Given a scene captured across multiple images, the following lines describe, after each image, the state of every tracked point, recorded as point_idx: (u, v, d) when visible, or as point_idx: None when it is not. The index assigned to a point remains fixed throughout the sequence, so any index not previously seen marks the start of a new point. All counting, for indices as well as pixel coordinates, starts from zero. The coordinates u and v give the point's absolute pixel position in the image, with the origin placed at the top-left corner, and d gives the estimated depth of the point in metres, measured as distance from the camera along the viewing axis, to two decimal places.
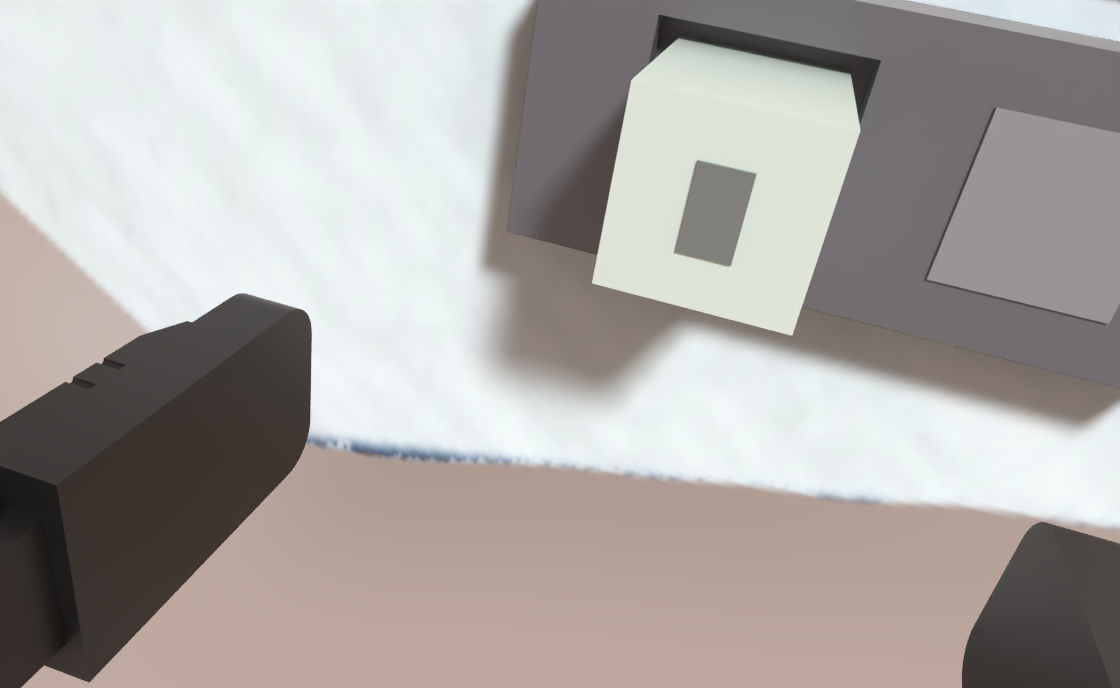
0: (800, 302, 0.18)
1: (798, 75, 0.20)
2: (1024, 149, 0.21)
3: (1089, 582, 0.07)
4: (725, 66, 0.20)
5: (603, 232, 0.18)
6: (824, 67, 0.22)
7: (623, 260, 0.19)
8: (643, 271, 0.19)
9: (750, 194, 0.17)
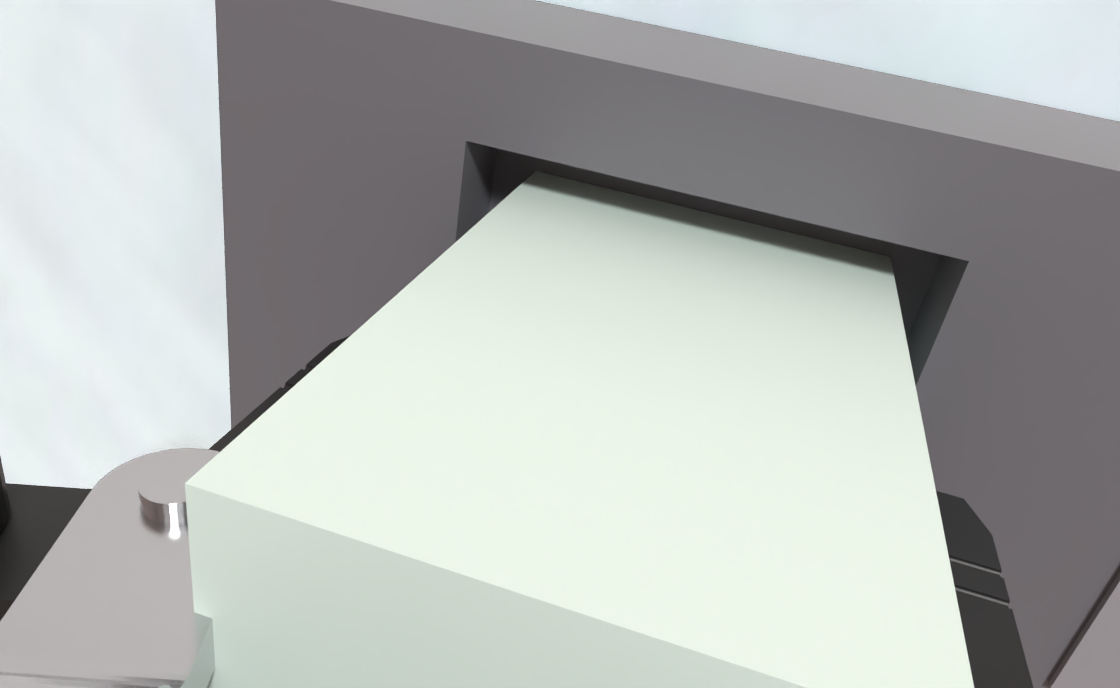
0: None
1: (773, 309, 0.08)
2: None
3: None
4: (588, 301, 0.08)
5: None
6: (835, 252, 0.10)
7: None
8: None
9: None
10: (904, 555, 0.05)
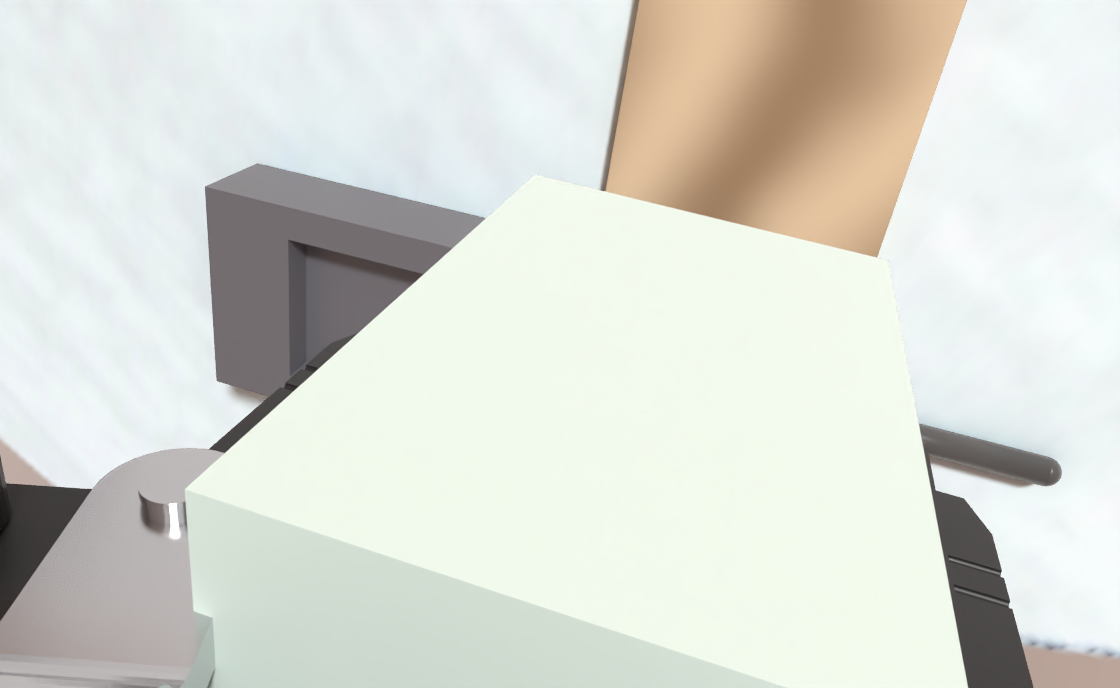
0: None
1: (771, 313, 0.08)
2: None
3: None
4: (587, 305, 0.08)
5: None
6: (833, 256, 0.10)
7: None
8: None
9: None
10: (900, 560, 0.05)
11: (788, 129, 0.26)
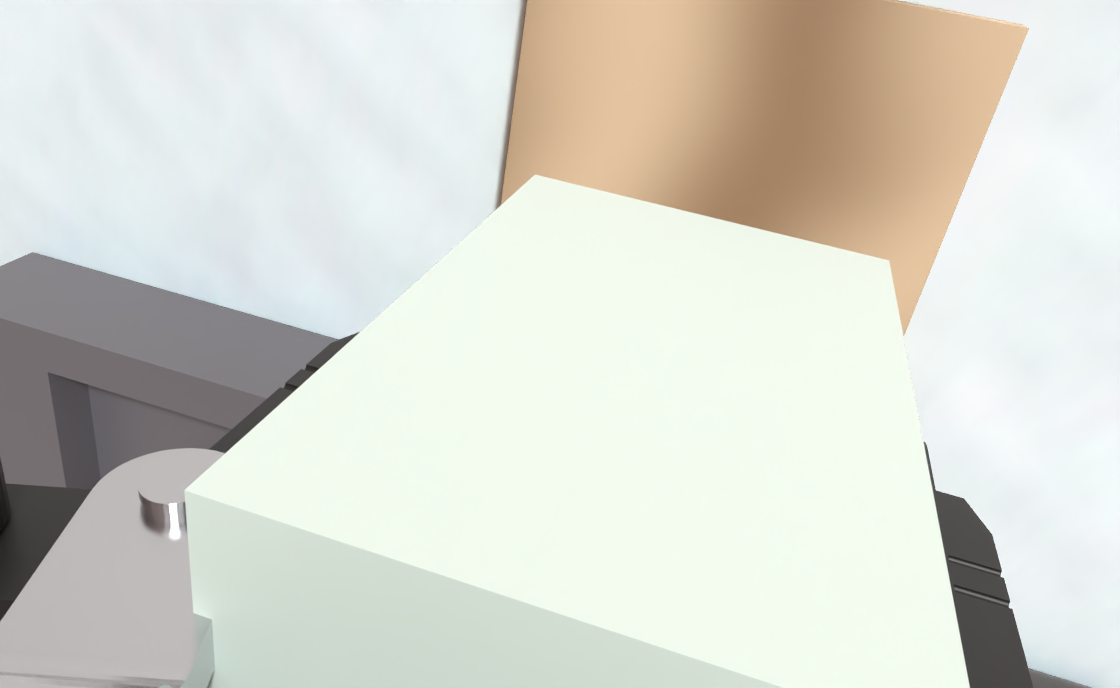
0: None
1: (772, 313, 0.08)
2: None
3: None
4: (587, 305, 0.08)
5: None
6: (833, 256, 0.10)
7: None
8: None
9: None
10: (902, 561, 0.05)
11: None
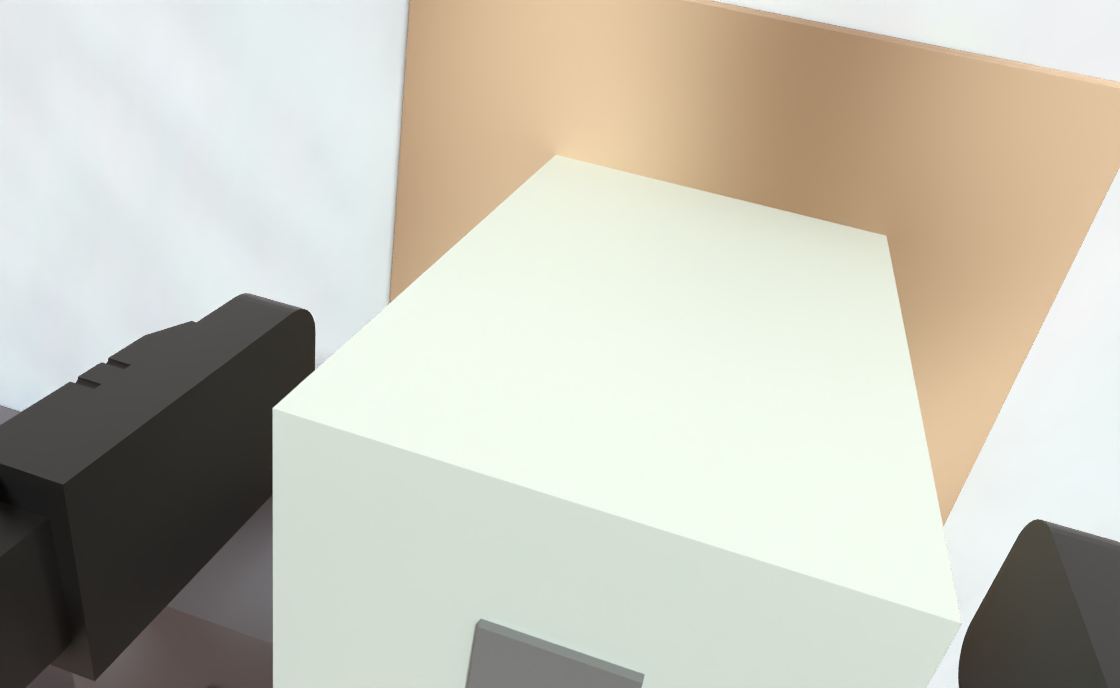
0: None
1: (779, 278, 0.09)
2: None
3: (1084, 579, 0.07)
4: (610, 268, 0.09)
5: None
6: (835, 231, 0.11)
7: None
8: None
9: None
10: (896, 480, 0.06)
11: None
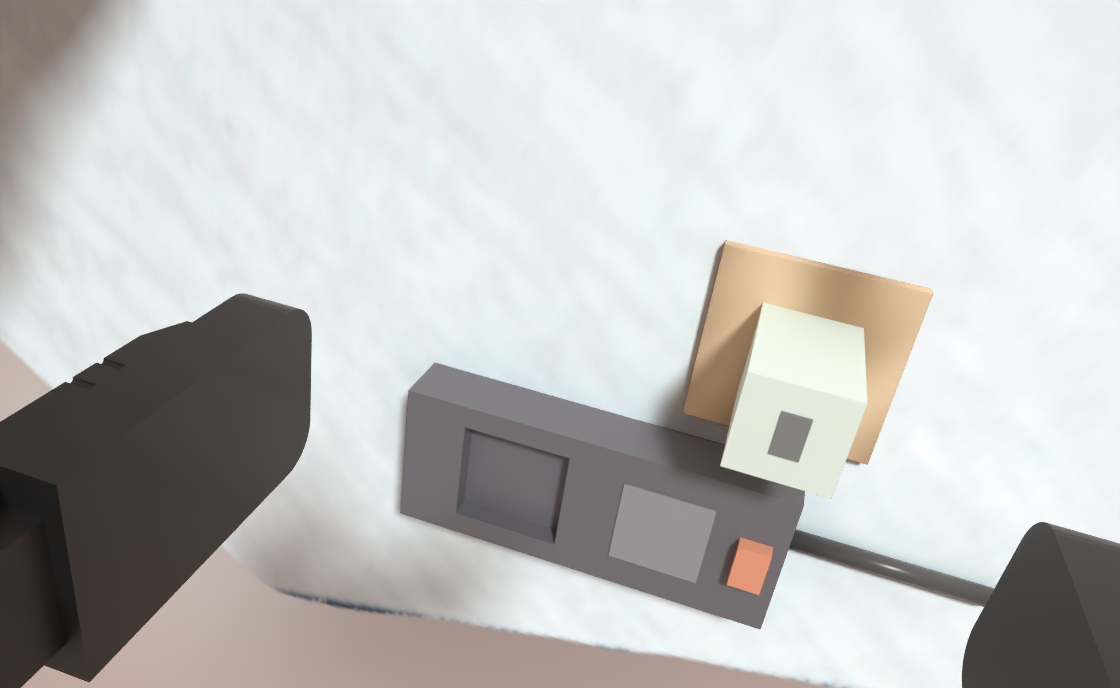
0: (836, 482, 0.33)
1: (833, 343, 0.36)
2: (640, 503, 0.42)
3: (1089, 581, 0.07)
4: (792, 341, 0.35)
5: (728, 441, 0.34)
6: (848, 327, 0.38)
7: (738, 455, 0.34)
8: (749, 462, 0.34)
9: (809, 429, 0.33)
10: (859, 385, 0.33)
11: None
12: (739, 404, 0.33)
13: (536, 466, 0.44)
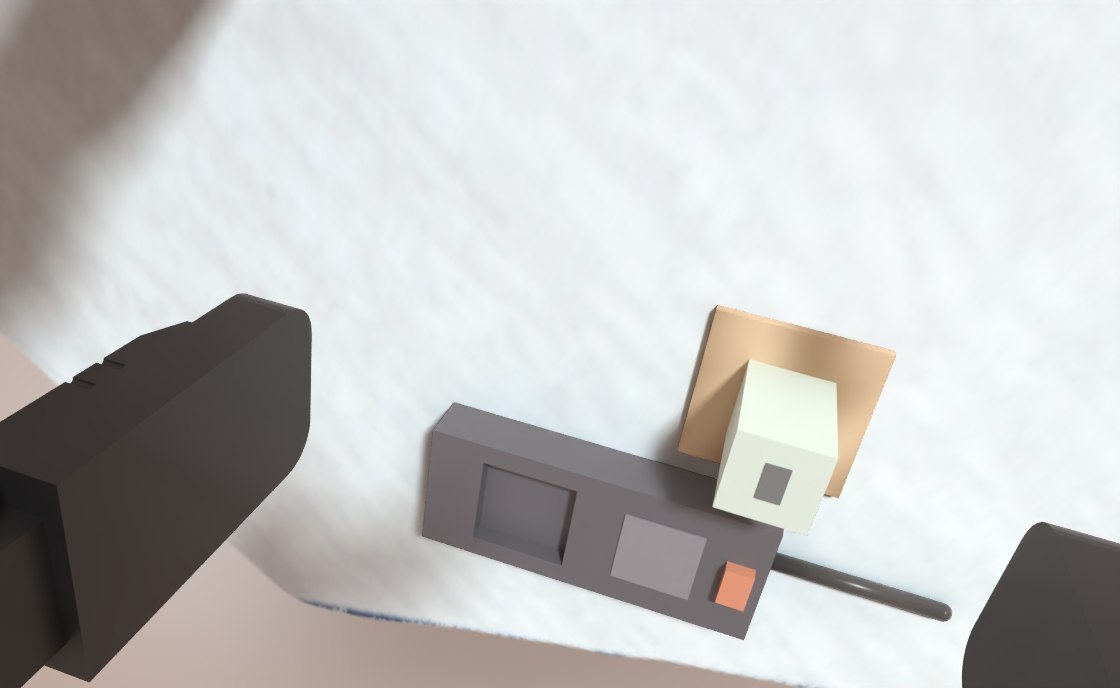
0: (811, 522, 0.39)
1: (810, 399, 0.41)
2: (639, 531, 0.47)
3: (1089, 581, 0.07)
4: (775, 398, 0.41)
5: (719, 486, 0.40)
6: (823, 382, 0.43)
7: (728, 498, 0.40)
8: (738, 504, 0.40)
9: (789, 478, 0.38)
10: (831, 440, 0.39)
11: None
12: (729, 456, 0.39)
13: (545, 496, 0.50)
